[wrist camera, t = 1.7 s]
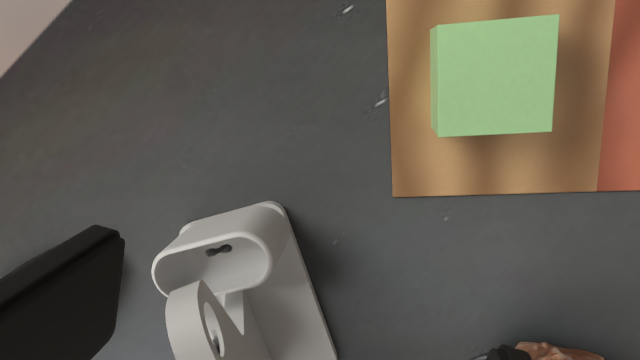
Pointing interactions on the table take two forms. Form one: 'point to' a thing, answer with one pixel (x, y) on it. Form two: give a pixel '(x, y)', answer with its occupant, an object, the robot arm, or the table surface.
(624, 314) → the table surface
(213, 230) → the phone holder
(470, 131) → the green block
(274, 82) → the table surface
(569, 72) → the plate
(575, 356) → the decorative rock
